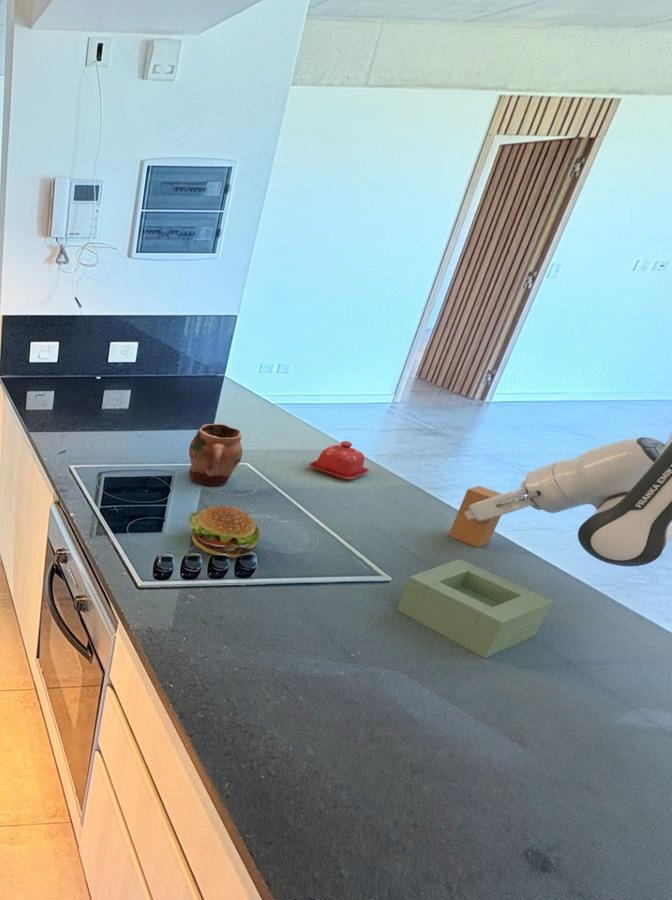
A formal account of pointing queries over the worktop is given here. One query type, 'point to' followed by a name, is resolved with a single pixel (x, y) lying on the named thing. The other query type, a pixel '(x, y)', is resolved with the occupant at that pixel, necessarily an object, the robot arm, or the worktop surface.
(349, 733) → the worktop surface
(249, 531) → the food
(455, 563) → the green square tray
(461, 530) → the orange rectangular block
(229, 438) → the decorative planter
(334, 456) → the butter dish
